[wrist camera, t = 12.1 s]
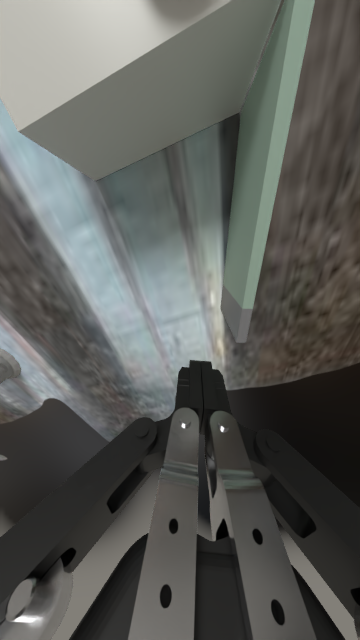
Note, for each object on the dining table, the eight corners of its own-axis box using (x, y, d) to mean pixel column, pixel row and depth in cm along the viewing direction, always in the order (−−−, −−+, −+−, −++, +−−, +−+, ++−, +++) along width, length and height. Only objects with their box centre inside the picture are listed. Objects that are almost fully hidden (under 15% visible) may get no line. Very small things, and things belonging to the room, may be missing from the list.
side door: (240, 112, 16) (302, -45, 7) (250, 112, 16) (324, -48, 7) (220, 308, 26) (236, 342, 17) (226, 308, 26) (245, 342, 17)
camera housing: (225, -19, 13) (340, -875, 3) (239, 112, 17) (318, -99, 6) (56, 89, 17) (-158, -155, 6) (95, 181, 20) (-6, 116, 10)
